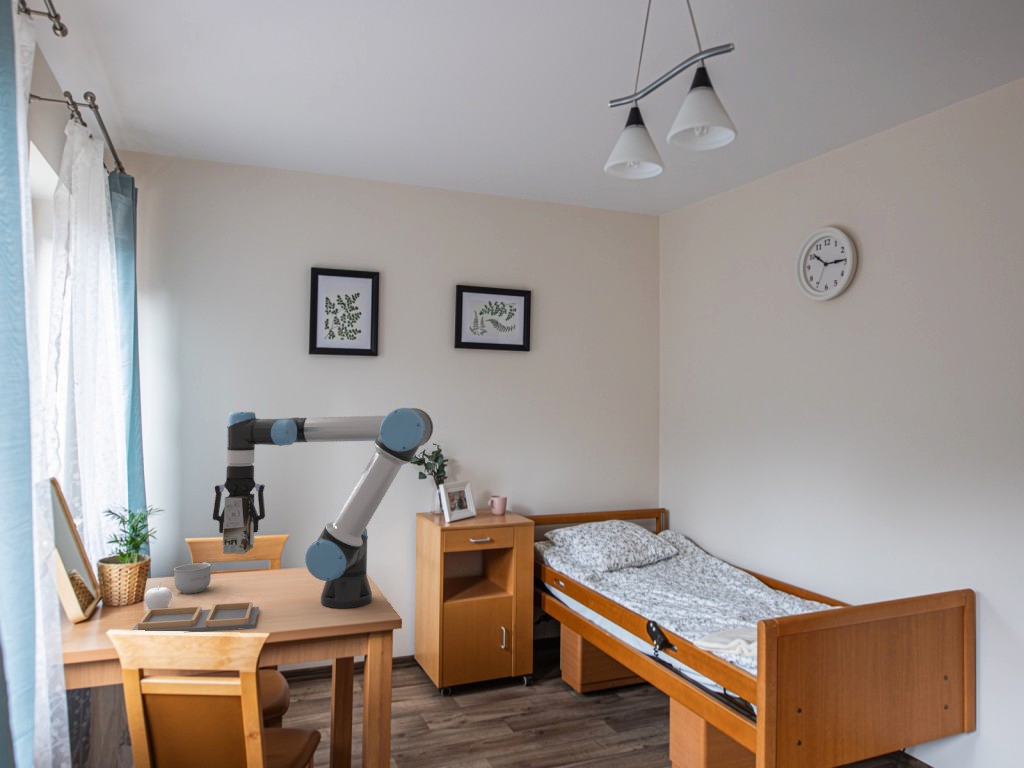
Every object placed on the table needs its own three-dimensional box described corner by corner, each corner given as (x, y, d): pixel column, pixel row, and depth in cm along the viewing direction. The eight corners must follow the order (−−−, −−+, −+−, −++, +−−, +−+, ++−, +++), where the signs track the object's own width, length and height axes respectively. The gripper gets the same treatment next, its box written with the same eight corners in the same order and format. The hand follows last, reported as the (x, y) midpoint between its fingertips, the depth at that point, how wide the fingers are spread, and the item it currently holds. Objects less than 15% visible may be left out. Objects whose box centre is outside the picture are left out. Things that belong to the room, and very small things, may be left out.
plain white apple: (175, 609, 211) (176, 581, 211) (150, 614, 205) (151, 586, 205) (164, 605, 215) (165, 577, 215) (139, 610, 210) (140, 582, 210)
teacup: (193, 597, 224) (193, 571, 224) (165, 593, 227) (165, 568, 228) (224, 586, 237) (225, 561, 237) (197, 583, 241) (198, 559, 241)
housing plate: (258, 610, 211) (259, 601, 211) (254, 627, 195) (254, 618, 195) (145, 616, 203) (145, 607, 203) (130, 635, 187) (131, 626, 187)
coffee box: (245, 554, 207) (247, 497, 208) (222, 554, 207) (223, 497, 207) (253, 547, 216) (255, 493, 217) (231, 547, 216) (233, 493, 216)
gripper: (277, 463, 218) (275, 540, 217) (206, 463, 214) (204, 542, 213) (274, 465, 211) (272, 545, 210) (201, 465, 206) (199, 547, 206)
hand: (238, 543), depth 212 cm, fingers closed on coffee box, 7 cm apart
